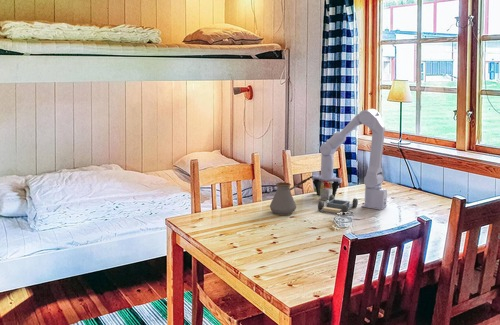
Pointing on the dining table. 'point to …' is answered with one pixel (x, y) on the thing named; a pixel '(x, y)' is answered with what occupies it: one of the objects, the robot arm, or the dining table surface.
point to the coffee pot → (284, 198)
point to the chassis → (336, 205)
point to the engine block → (326, 193)
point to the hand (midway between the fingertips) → (326, 195)
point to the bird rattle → (325, 185)
